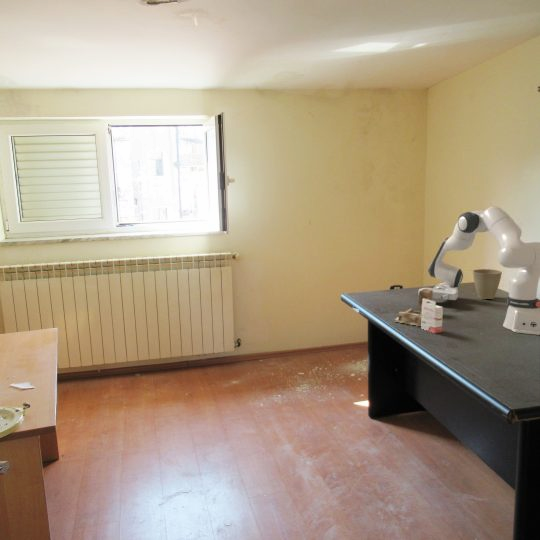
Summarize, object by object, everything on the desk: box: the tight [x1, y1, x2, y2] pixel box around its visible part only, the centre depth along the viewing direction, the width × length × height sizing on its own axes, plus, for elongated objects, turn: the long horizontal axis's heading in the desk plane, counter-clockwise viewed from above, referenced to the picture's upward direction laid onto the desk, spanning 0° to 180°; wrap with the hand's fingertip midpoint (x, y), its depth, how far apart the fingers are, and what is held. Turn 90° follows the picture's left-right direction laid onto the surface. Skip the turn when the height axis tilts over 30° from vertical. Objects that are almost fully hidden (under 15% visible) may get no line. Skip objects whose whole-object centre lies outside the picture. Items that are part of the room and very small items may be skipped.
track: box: [393, 308, 422, 327], centre depth 230 cm, size 14×15×6 cm
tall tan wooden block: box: [418, 289, 433, 312], centre depth 242 cm, size 5×7×12 cm, turn 143°
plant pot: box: [472, 268, 502, 300], centre depth 268 cm, size 15×15×16 cm
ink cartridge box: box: [420, 298, 444, 334], centre depth 214 cm, size 9×5×15 cm, turn 27°
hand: (433, 296), depth 251 cm, fingers open, 8 cm apart
